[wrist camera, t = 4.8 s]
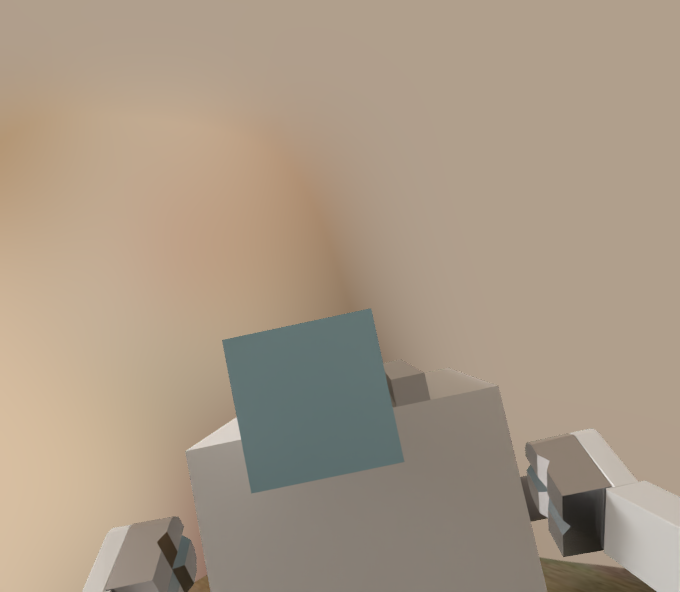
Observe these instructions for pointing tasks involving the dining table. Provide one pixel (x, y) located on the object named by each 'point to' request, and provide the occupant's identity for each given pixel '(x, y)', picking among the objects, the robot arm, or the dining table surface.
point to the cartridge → (312, 401)
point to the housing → (381, 505)
